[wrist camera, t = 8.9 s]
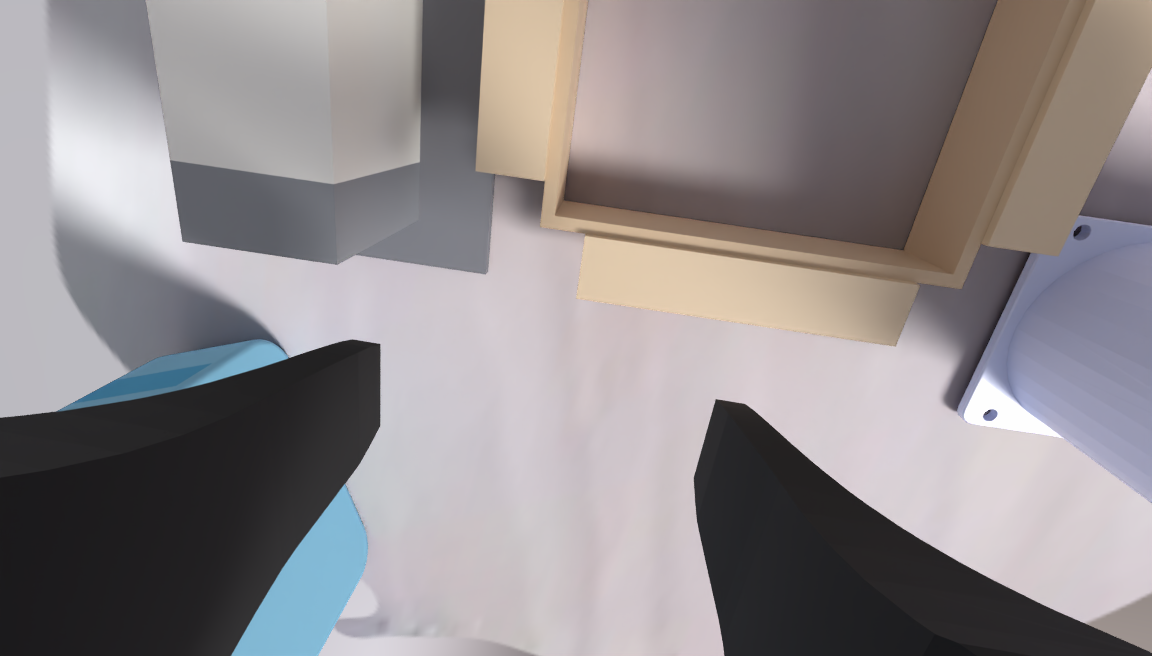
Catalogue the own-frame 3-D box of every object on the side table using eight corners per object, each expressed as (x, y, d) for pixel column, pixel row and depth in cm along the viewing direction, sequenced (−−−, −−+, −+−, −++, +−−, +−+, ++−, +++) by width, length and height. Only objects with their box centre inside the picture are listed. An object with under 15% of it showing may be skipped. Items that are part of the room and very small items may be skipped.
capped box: (423, -45, 16) (321, -128, 10) (418, 220, 19) (336, 264, 14) (293, -64, 16) (122, -155, 11) (308, 203, 19) (182, 241, 14)
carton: (1170, -200, 14) (1326, -288, 11) (944, 323, 20) (1005, 363, 16) (531, -285, 14) (508, -394, 11) (491, 256, 20) (469, 282, 17)
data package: (180, 342, 22) (-254, 574, 11) (278, 325, 22) (-81, 551, 10) (294, 561, 26) (60, 885, 15) (378, 551, 26) (198, 883, 15)
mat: (513, -84, 16) (510, -89, 15) (487, 271, 20) (485, 274, 20) (215, -126, 16) (206, -131, 16) (253, 236, 20) (246, 238, 20)
